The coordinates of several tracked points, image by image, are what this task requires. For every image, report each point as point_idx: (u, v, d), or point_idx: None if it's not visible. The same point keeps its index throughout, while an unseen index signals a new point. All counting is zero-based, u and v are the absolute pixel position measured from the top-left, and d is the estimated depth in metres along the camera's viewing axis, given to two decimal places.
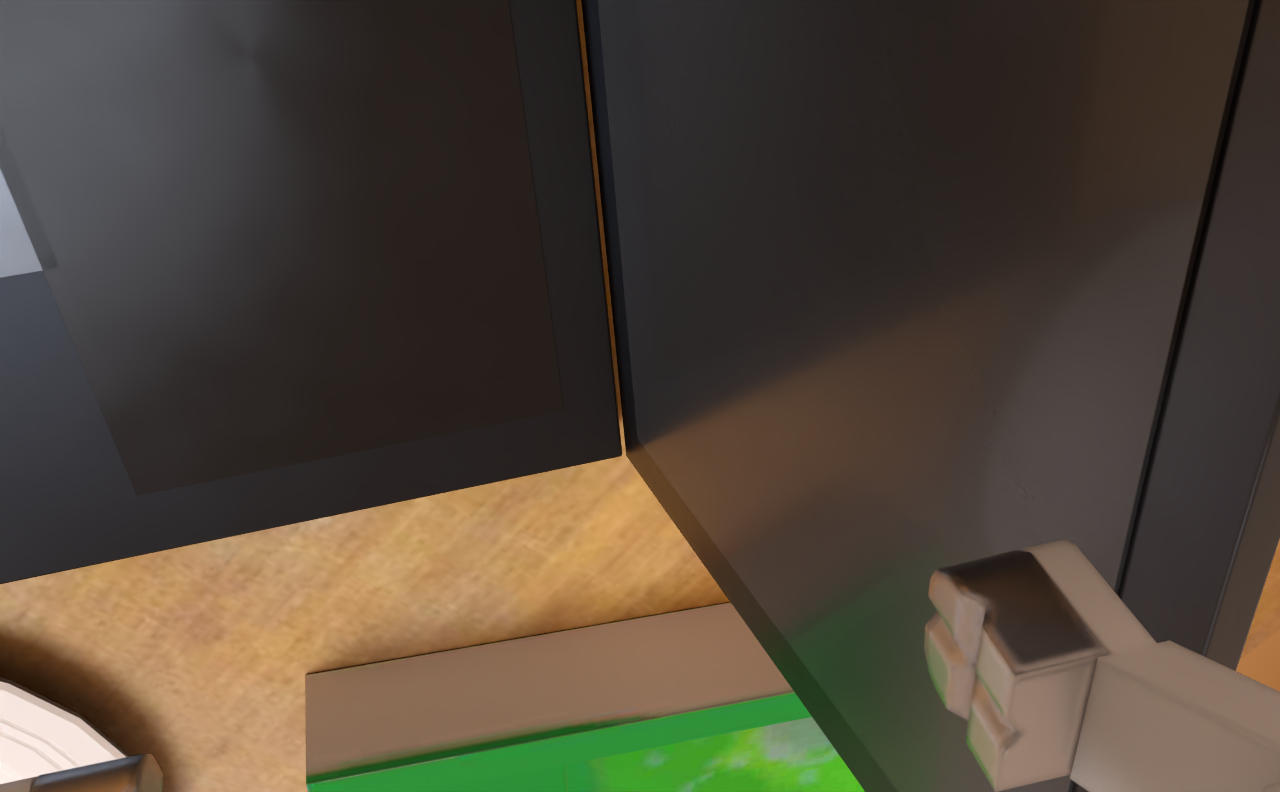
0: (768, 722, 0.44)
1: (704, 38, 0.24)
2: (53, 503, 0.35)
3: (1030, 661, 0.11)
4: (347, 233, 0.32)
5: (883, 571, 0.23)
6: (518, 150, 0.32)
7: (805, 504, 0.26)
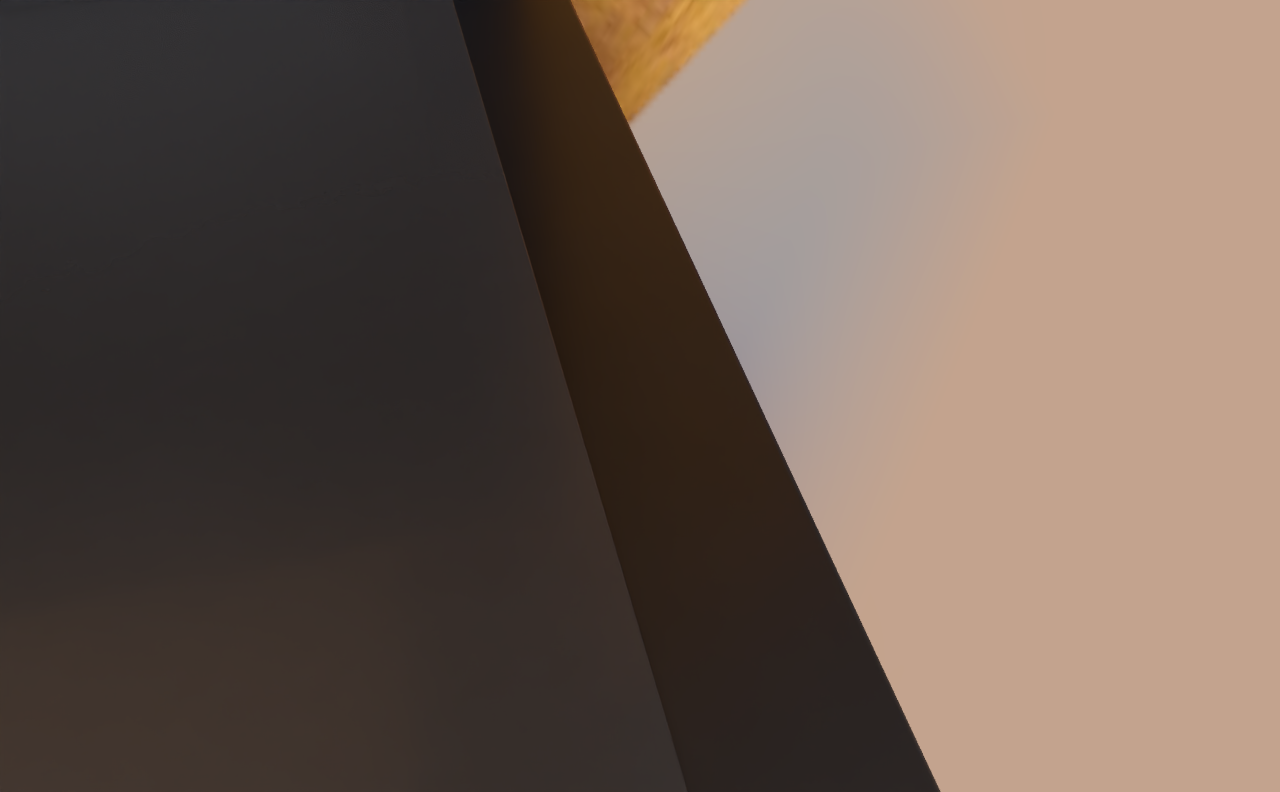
0: None
1: None
2: None
3: None
4: None
5: None
6: None
7: None
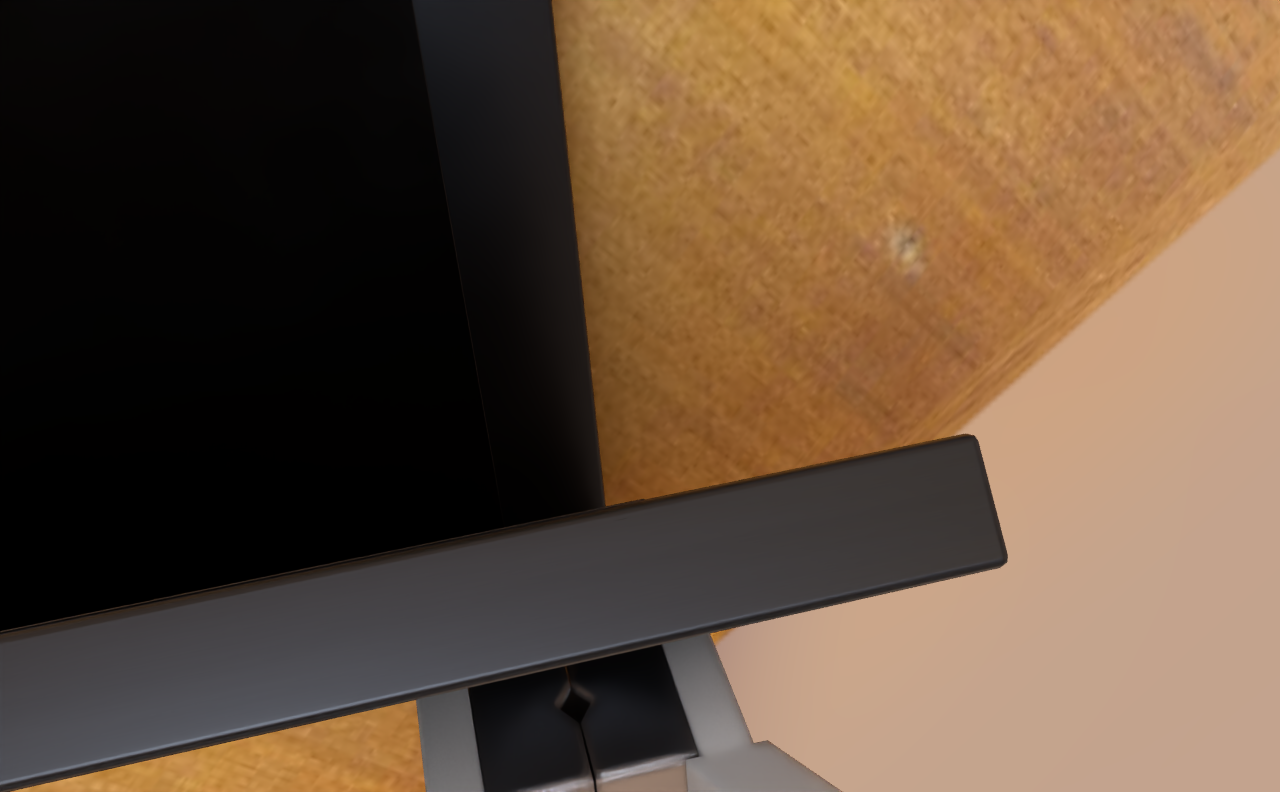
0: None
1: None
2: None
3: (617, 763, 0.10)
4: None
5: None
6: None
7: None
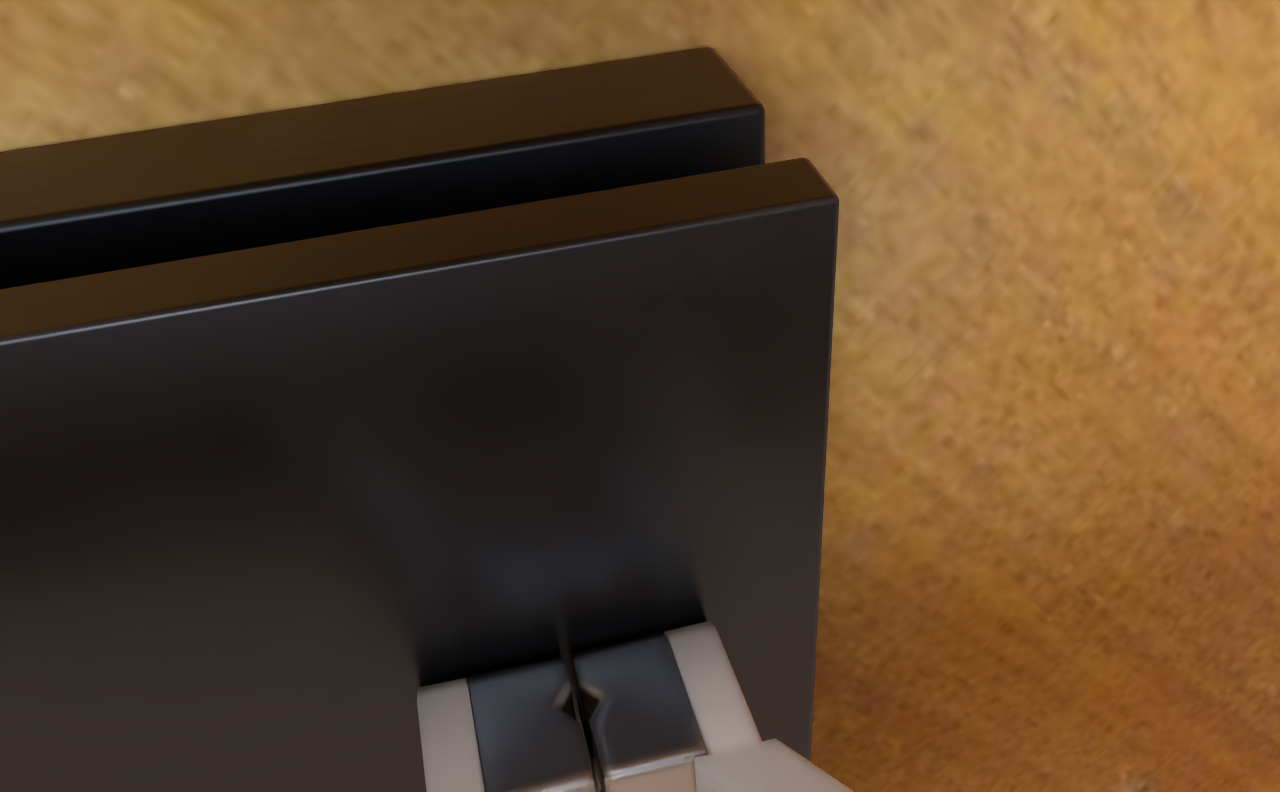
0: None
1: None
2: None
3: (626, 761, 0.10)
4: None
5: None
6: None
7: None
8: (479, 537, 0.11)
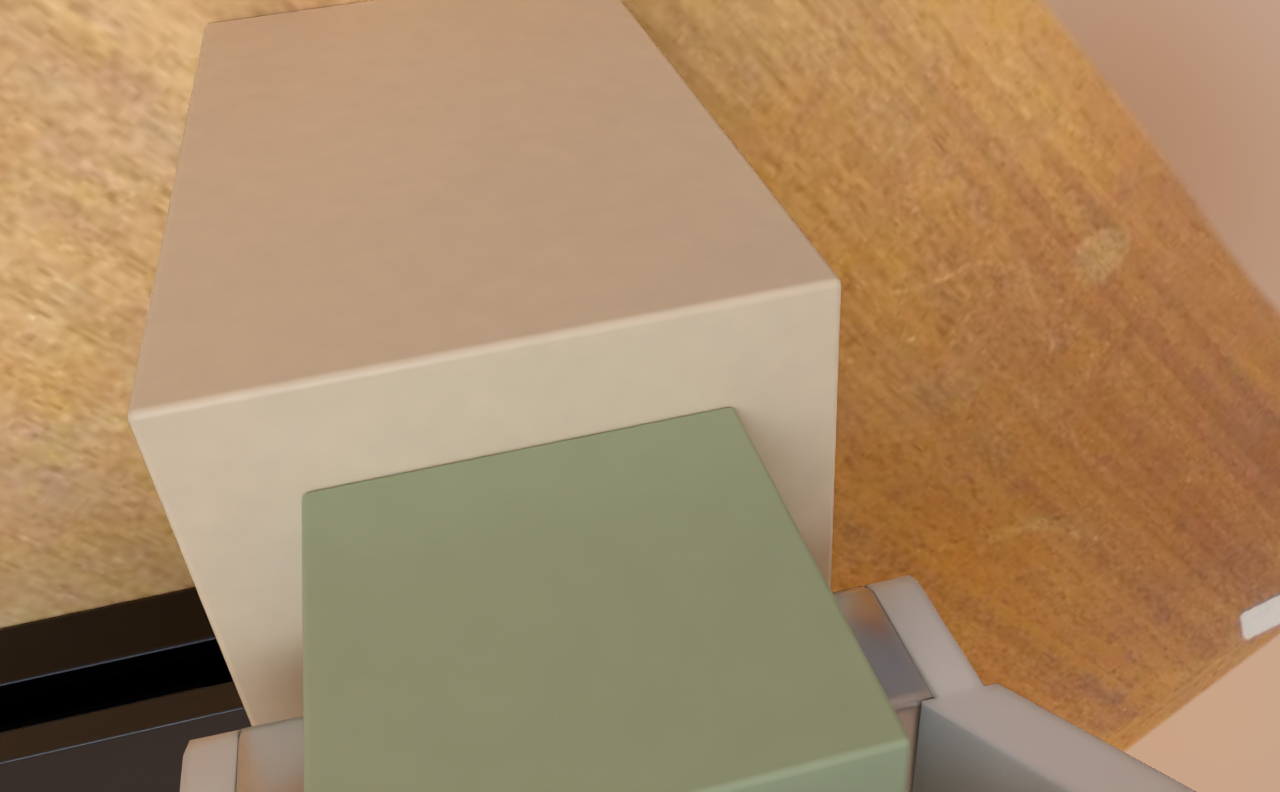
0: None
1: None
2: None
3: None
4: None
5: None
6: None
7: None
8: None
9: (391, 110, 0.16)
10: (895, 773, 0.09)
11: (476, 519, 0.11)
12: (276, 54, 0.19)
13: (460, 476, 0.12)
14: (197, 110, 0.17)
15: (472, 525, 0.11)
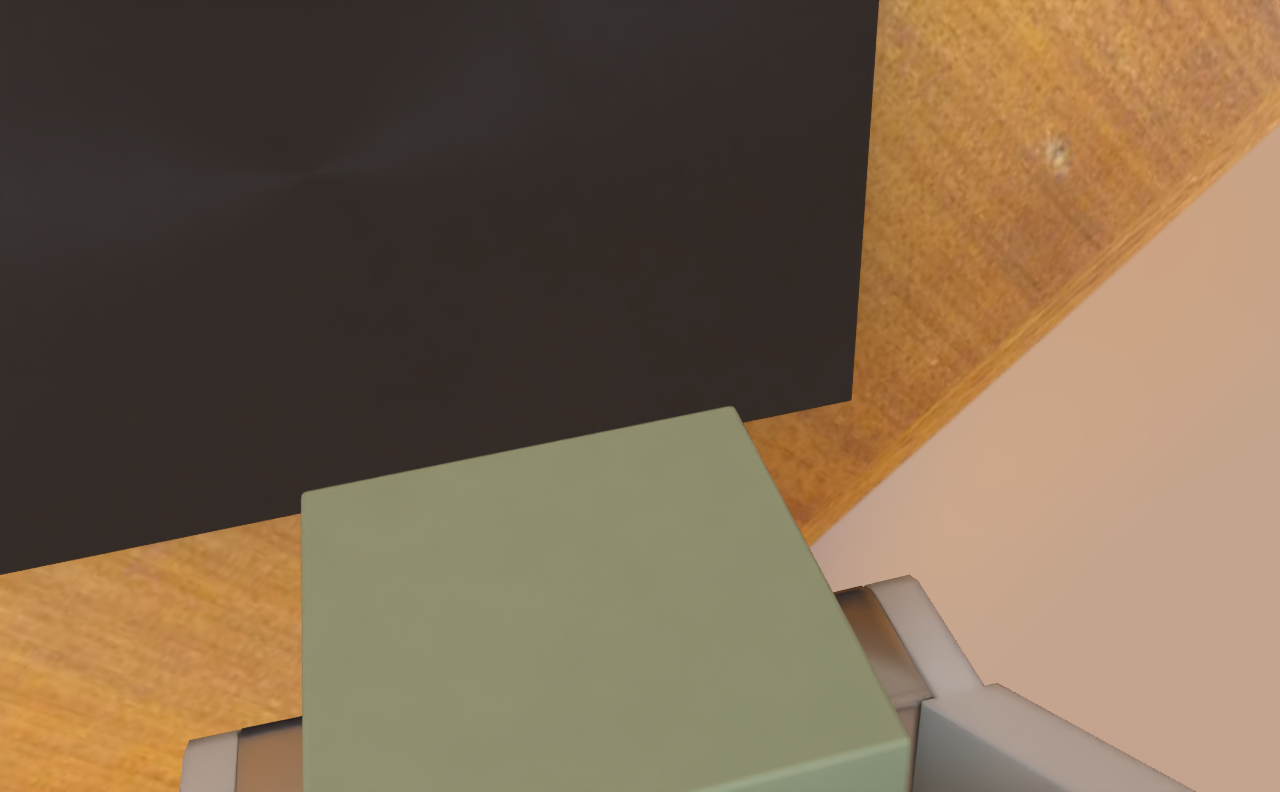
0: None
1: None
2: None
3: None
4: None
5: None
6: None
7: None
8: None
9: None
10: (897, 774, 0.09)
11: (475, 517, 0.11)
12: None
13: (460, 475, 0.12)
14: None
15: (472, 524, 0.11)
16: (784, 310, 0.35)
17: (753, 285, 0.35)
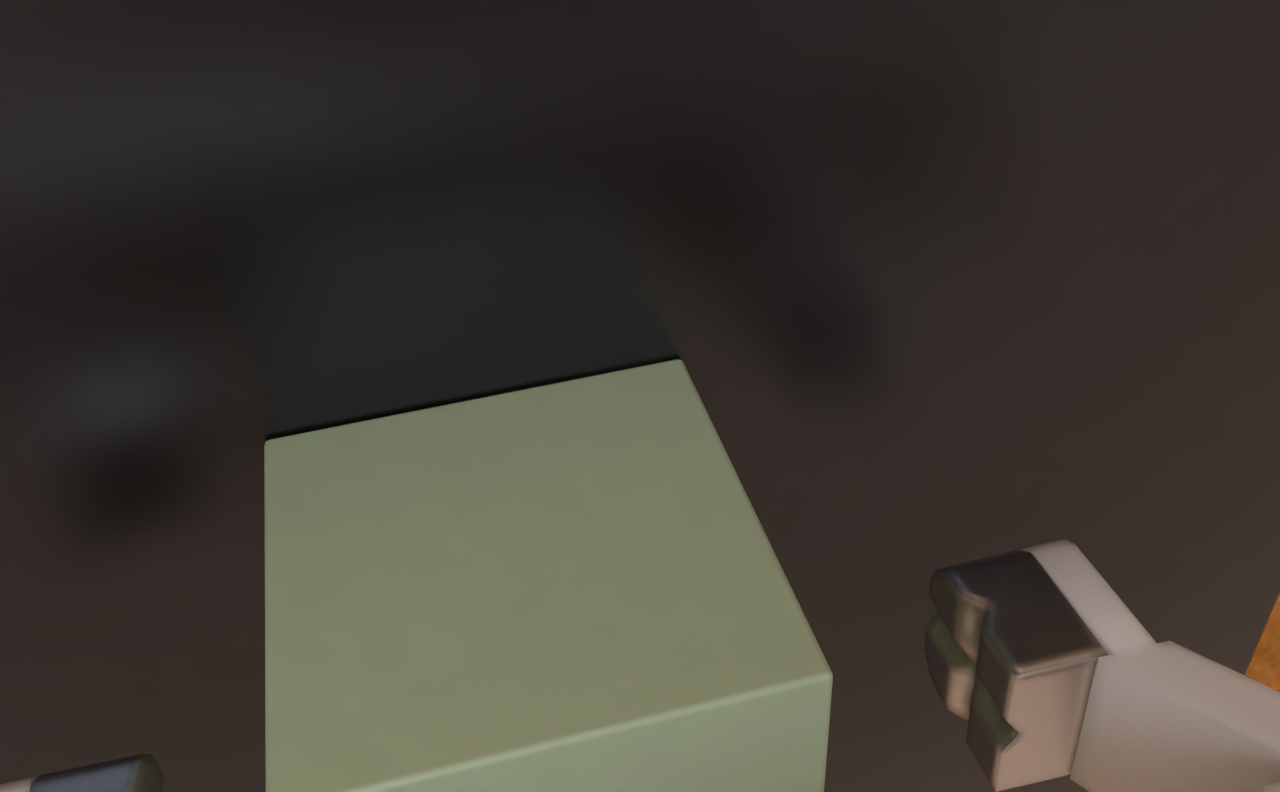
0: None
1: None
2: None
3: (1030, 661, 0.11)
4: None
5: None
6: None
7: None
8: None
9: None
10: (819, 706, 0.10)
11: (433, 465, 0.12)
12: None
13: (417, 424, 0.12)
14: None
15: (428, 472, 0.12)
16: None
17: None
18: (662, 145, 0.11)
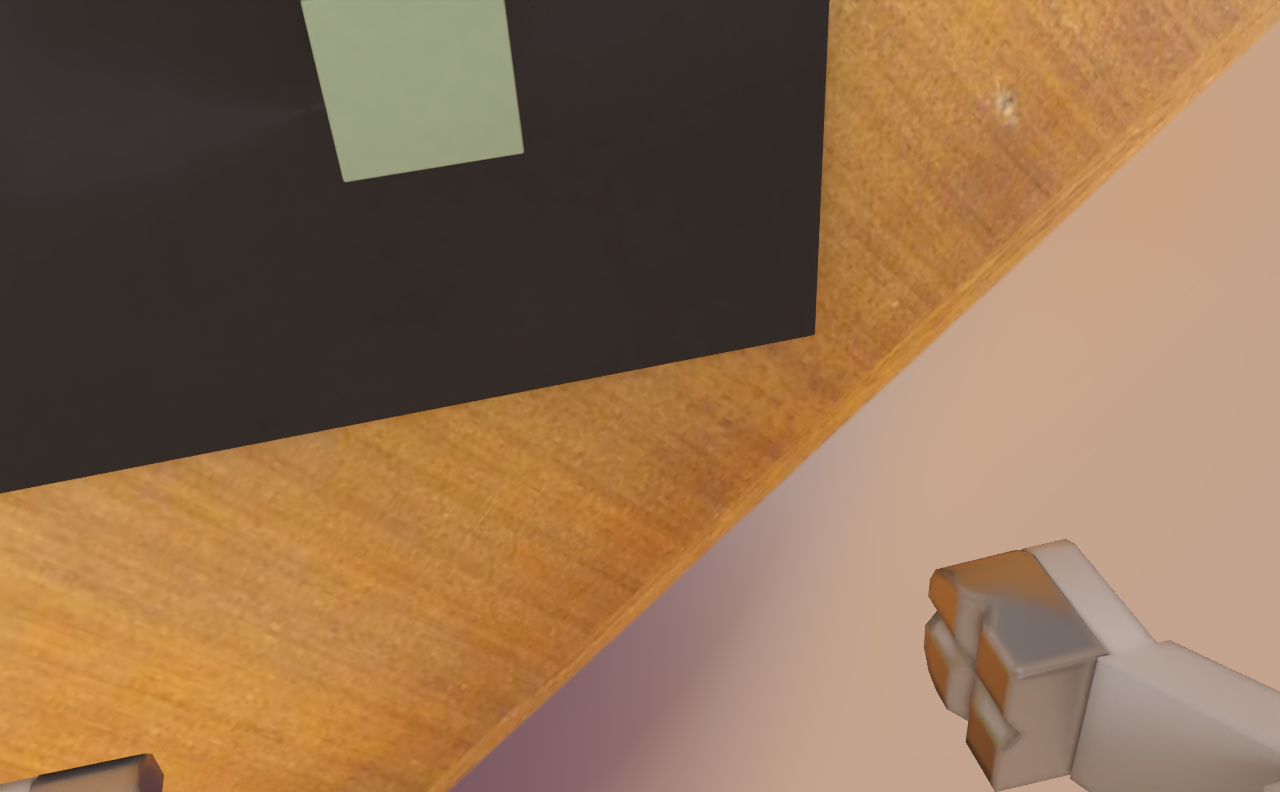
0: None
1: None
2: None
3: (1030, 661, 0.11)
4: None
5: None
6: None
7: None
8: None
9: None
10: None
11: None
12: None
13: None
14: None
15: None
16: (750, 246, 0.38)
17: (720, 221, 0.37)
18: None
